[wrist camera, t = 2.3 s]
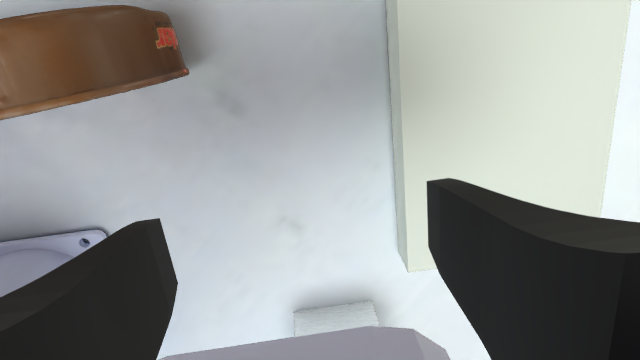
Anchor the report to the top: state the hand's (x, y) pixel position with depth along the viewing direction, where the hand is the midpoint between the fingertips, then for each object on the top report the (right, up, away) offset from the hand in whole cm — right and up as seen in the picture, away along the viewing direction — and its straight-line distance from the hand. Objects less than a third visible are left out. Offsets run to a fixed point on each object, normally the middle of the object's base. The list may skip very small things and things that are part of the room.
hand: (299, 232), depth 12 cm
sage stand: (+9, +6, +10) cm, 14 cm away
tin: (-12, +6, +8) cm, 16 cm away
